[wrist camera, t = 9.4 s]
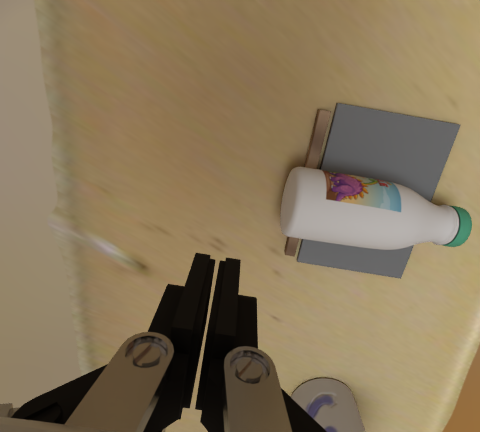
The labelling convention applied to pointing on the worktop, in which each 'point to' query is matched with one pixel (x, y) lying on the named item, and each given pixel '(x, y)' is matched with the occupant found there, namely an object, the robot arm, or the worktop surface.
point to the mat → (380, 174)
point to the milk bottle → (366, 212)
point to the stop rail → (311, 161)
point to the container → (329, 405)
